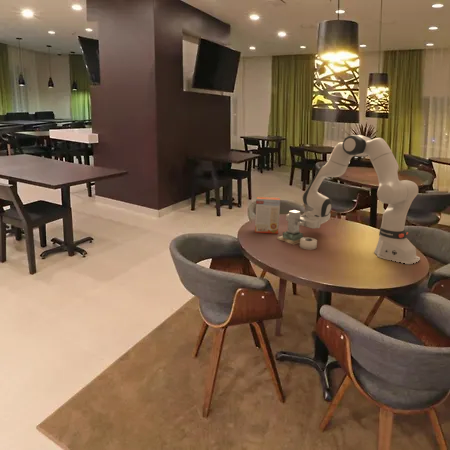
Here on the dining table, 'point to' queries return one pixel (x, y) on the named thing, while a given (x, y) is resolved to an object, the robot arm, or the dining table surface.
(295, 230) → the square bit
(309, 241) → the round bore block
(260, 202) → the cracker box
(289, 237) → the square socket board
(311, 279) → the dining table surface
